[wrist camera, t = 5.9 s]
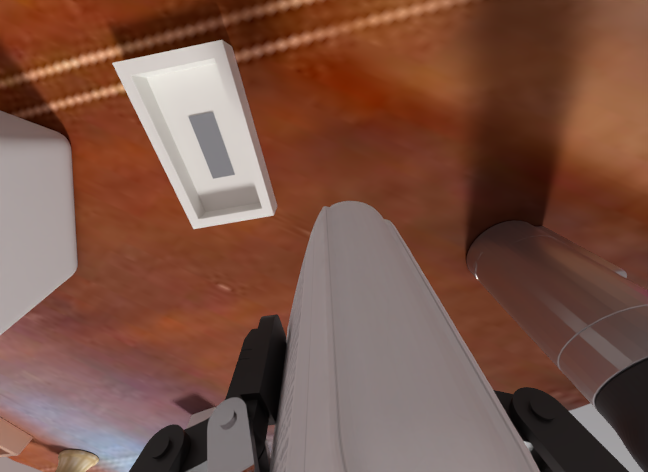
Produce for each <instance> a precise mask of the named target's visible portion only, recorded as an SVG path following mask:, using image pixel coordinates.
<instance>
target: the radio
mask: <svg viewBox="0 0 648 472" xmlns="http://www.w3.org/2000/svg"><path fill="white" fill-rule="evenodd" d="M77 266H78V262H77V243H76V225H75V207H74V189H73V171H72V153H71V146H70V143H69V141H68V140H67V138H66V137H65V136H64V135H62V134H60V133H58V132H57V131H54V130H51V129H48V128H46V127H43V126H40V125H38V124H35V123H32V122H30V121H27V120H24V119H22V118H19V117H16V116H14V115H11V114H8V113H6V112H3V111H0V335H1V334H2V333H4V332H5V331H6V330H7V329H8V328H10V327H11V326H12V325H13V324H14V323H16V322H17V321H18V320H19V319H20V318H22V317H23V316H24V315H25V314H26V313H28V312H29V311H30V310H31V309H32V308H34V307H35V306H36V305H37V304H38V303H40V302H41V301H42V300H43V299H44V298H46V297H47V296H48V295H49V294H50V293H52V292H53V291H54V290H55V289H56V288H58V287H59V286H60V285H61V284H62V283H64V282H65V281H66V280H67V279H68V278H70V277H71V276H72V275H73V274H74V272H75V271H76V269H77Z"/></svg>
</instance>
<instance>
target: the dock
mask: <svg viewBox="0 0 648 472" xmlns="http://www.w3.org/2000/svg"><path fill="white" fill-rule="evenodd" d="M112 64H113V66H114V68H115V70H116V72H117V74H118V76H119V78H120V80H121V82H122V84H123V86H124V88H125V90H126V92H127V94H128V96H129V98H130V100H131V102H132V105H133V107H134V109H135V111H136V113H137V115H138V117H139V119H140V121H141V123H142V125H143V127H144V129H145V131H146V133H147V135H148V137H149V139H150V141H151V143H152V145H153V147H154V149H155V151H156V153H157V156H158V158H159V160H160V162H161V164H162V166H163V168H164V170H165V172H166V174H167V176H168V178H169V180H170V182H171V184H172V186H173V188H174V190H175V192H176V194H177V196H178V198H179V200H180V202H181V204H182V206H183V209H184V211H185V213H186V215H187V217H188V219H189V221H190V223H191V225H192V227H193V229H197V228H203V227H208V226H214V225H220V224H226V223H232V222H238V221H244V220H250V219H256V218H261V217H267V216H273V215H274V214H275V211H276V208H277V203H276V200H275V196H274V193H273V189H272V186H271V182H270V179H269V175H268V171H267V168H266V164H265V161H264V157H263V154H262V150H261V147H260V143H259V140H258V136H257V133H256V129H255V126H254V122H253V119H252V115H251V111H250V108H249V104H248V101H247V97H246V94H245V90H244V87H243V83H242V80H241V76H240V73H239V69H238V66H237V62H236V59H235V55H234V51H233V48H232V46H231V45H229V44H228V43H226V42H225V41H223V40H218V41H213V42H209V43H204V44H199V45H195V46H190V47H185V48H180V49H176V50H171V51H166V52H162V53H157V54H152V55H148V56H143V57H138V58H134V59H129V60H124V61H119V62H115V63H112Z"/></svg>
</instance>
